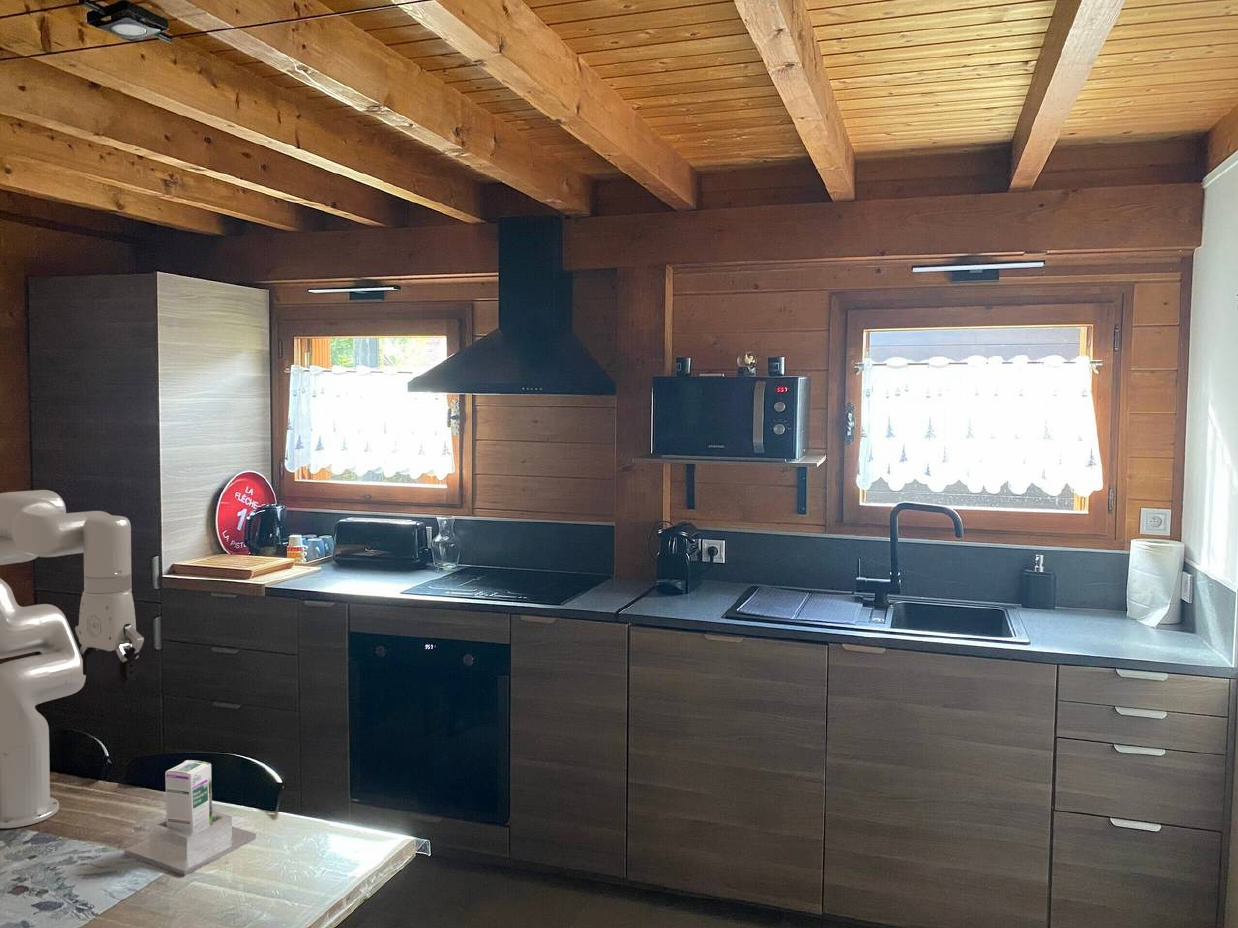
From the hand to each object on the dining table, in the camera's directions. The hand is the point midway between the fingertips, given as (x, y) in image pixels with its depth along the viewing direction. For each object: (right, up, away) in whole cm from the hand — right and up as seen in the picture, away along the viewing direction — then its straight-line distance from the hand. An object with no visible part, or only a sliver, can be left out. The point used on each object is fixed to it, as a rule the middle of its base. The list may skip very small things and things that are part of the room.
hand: (109, 677), depth 170 cm
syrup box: (+12, -32, +6) cm, 35 cm away
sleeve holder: (+12, -33, +6) cm, 36 cm away
